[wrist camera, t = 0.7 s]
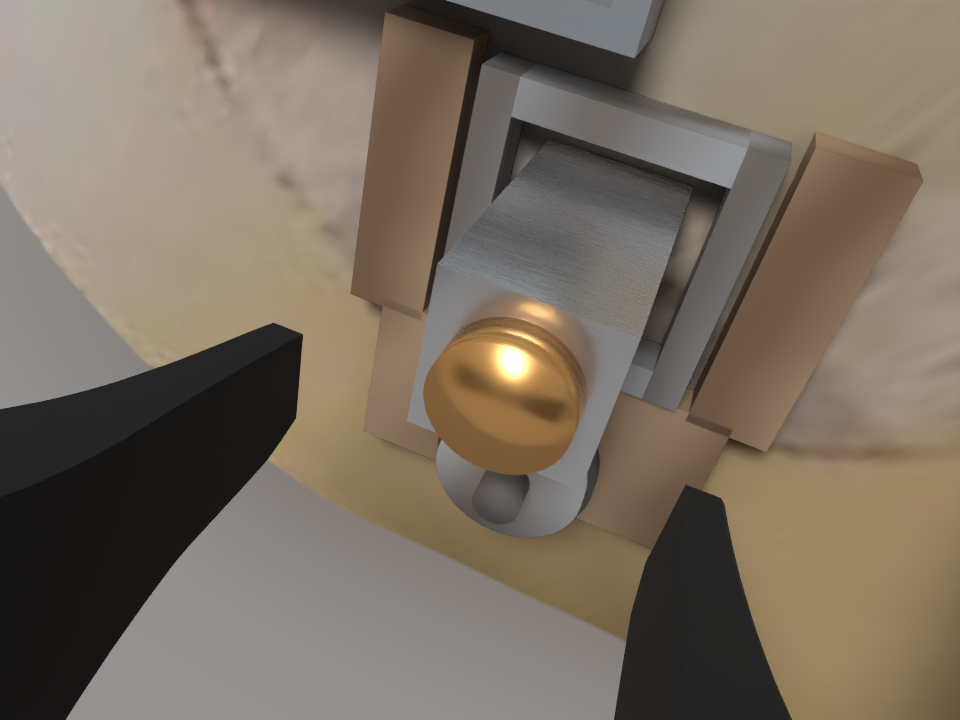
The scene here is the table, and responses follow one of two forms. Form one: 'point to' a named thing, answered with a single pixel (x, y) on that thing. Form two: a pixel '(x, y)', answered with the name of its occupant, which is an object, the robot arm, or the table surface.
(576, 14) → the tray
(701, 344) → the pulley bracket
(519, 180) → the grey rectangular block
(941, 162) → the table surface
